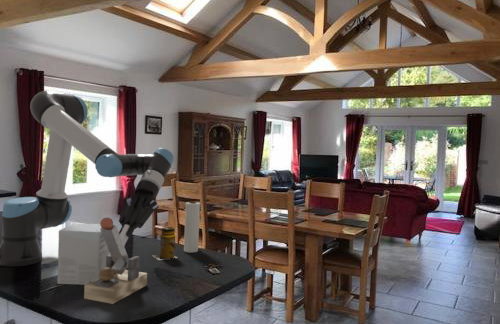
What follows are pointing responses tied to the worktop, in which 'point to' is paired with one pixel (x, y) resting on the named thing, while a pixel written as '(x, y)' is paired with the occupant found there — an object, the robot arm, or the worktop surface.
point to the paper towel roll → (191, 227)
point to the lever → (114, 245)
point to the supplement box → (81, 254)
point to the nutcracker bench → (116, 282)
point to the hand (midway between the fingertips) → (119, 244)
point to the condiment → (167, 244)
